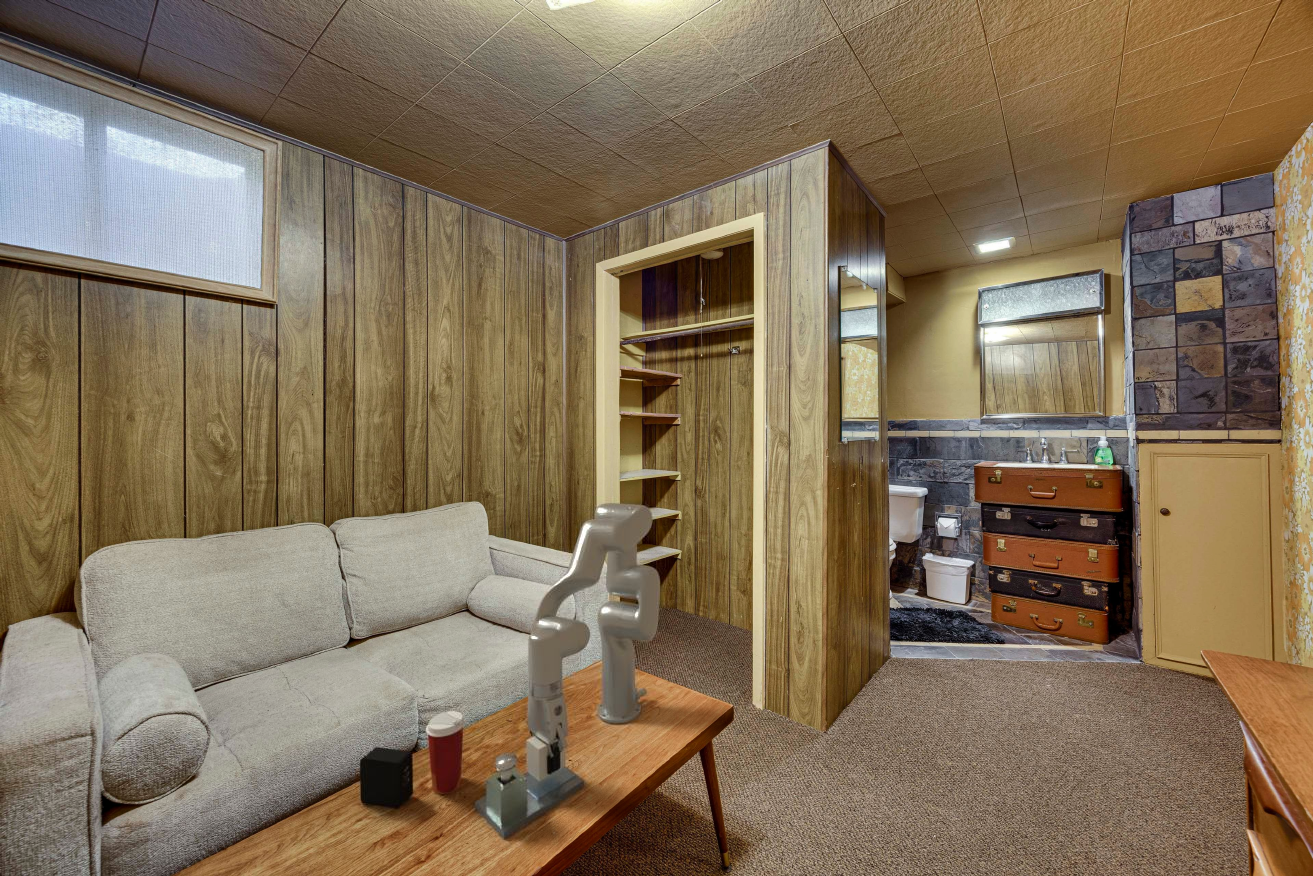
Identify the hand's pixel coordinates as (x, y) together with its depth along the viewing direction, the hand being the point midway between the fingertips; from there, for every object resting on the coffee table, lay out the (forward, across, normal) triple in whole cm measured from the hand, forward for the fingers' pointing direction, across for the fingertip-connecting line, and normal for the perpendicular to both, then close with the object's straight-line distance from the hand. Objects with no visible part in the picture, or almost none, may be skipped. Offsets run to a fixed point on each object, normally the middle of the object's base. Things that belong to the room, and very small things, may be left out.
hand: (546, 764), depth 114 cm
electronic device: (+5, +23, +26) cm, 35 cm away
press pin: (-1, -1, +11) cm, 11 cm away
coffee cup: (+5, +18, +15) cm, 24 cm away
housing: (+1, 0, 0) cm, 1 cm away
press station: (+5, 0, +4) cm, 7 cm away
